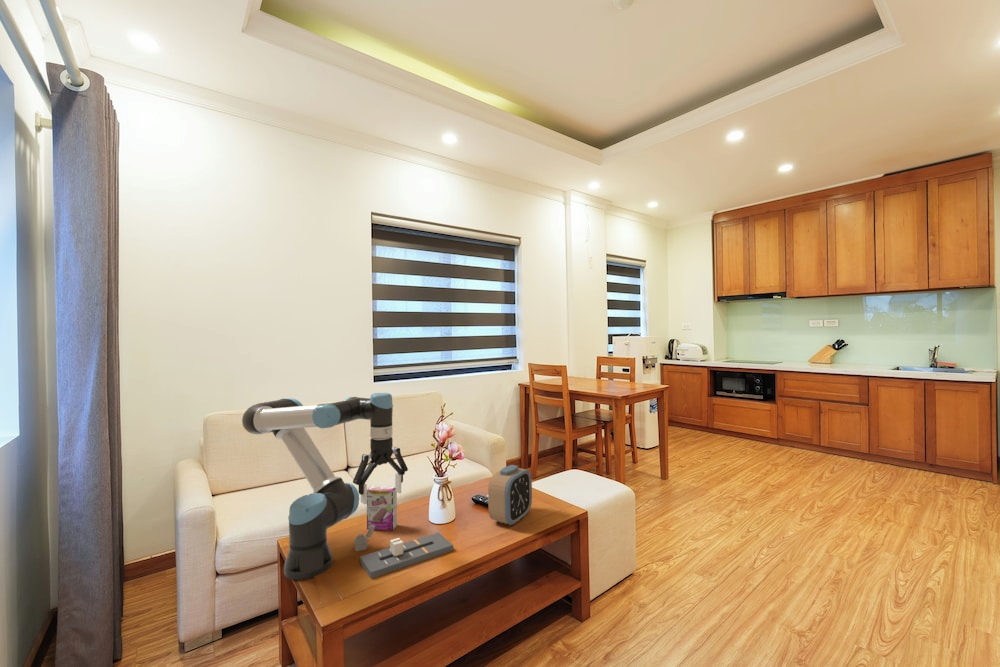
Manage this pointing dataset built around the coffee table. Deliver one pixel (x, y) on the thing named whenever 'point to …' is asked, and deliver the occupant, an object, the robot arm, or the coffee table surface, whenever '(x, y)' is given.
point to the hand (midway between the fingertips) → (381, 497)
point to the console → (405, 555)
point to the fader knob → (396, 547)
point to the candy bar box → (382, 507)
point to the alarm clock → (510, 494)
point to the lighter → (363, 539)
